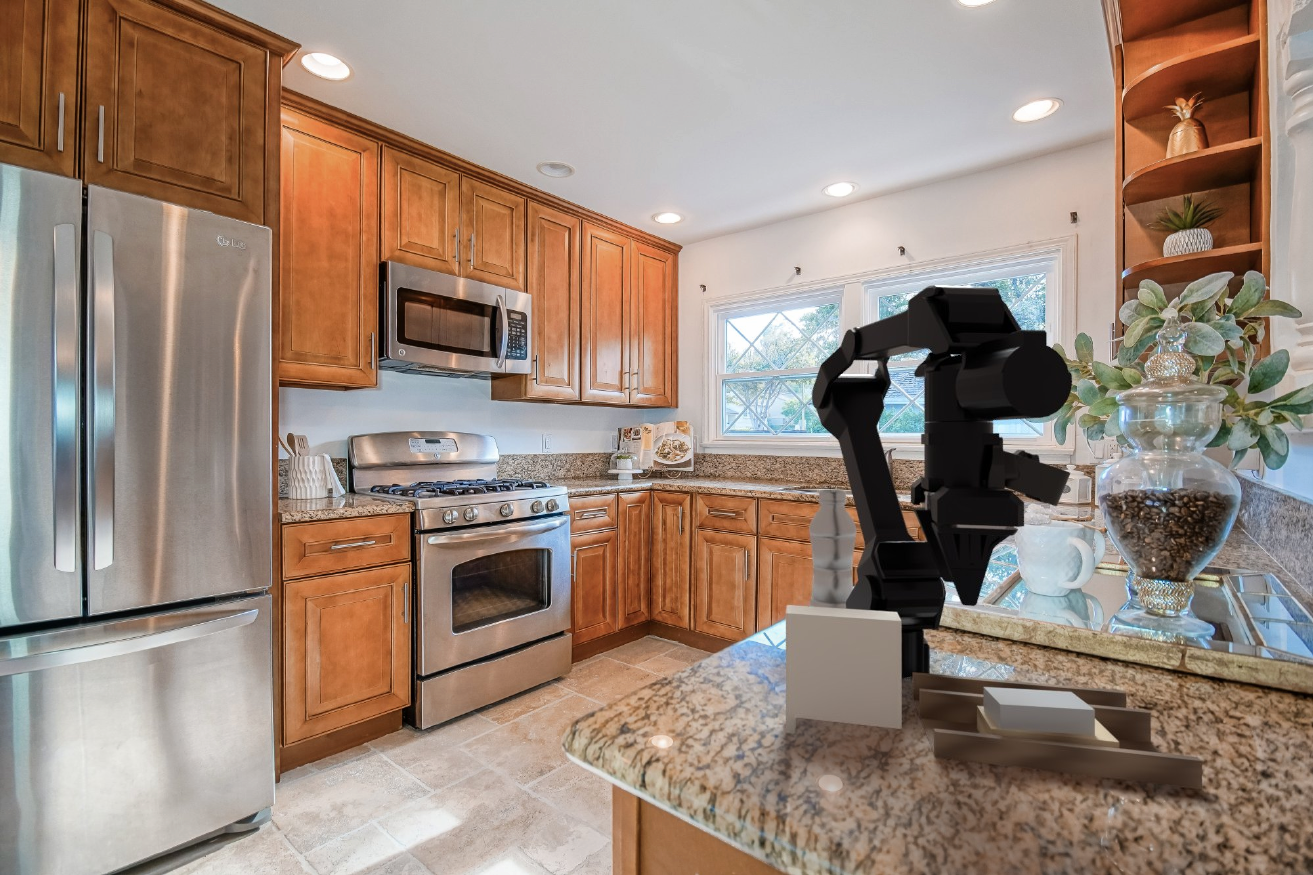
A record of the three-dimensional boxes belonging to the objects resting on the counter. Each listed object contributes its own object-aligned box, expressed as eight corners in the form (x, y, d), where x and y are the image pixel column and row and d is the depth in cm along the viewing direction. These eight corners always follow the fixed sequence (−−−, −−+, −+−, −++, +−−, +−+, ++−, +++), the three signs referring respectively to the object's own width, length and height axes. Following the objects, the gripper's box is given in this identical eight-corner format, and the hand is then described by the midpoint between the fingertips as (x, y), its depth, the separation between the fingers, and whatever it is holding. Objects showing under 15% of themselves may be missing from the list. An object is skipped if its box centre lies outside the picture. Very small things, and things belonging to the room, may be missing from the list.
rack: (935, 775, 49) (935, 725, 49) (910, 706, 62) (910, 666, 63) (1202, 809, 45) (1202, 754, 45) (1115, 726, 58) (1114, 684, 58)
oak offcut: (991, 753, 50) (991, 728, 50) (977, 728, 54) (976, 705, 54) (1119, 768, 48) (1119, 742, 48) (1093, 740, 52) (1093, 717, 52)
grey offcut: (1000, 728, 50) (1000, 704, 50) (983, 709, 54) (983, 686, 54) (1094, 735, 49) (1094, 709, 49) (1071, 715, 52) (1071, 691, 52)
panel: (785, 732, 57) (785, 613, 57) (787, 718, 60) (787, 604, 60) (901, 746, 54) (901, 620, 54) (897, 730, 57) (896, 611, 57)
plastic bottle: (799, 634, 86) (799, 490, 86) (822, 624, 91) (822, 488, 91) (843, 645, 81) (842, 493, 82) (865, 633, 86) (865, 490, 86)
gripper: (1102, 418, 46) (1102, 629, 45) (1026, 425, 64) (1026, 576, 63) (938, 419, 49) (938, 617, 49) (910, 425, 67) (910, 570, 66)
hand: (958, 592), depth 57 cm, fingers open, 9 cm apart
